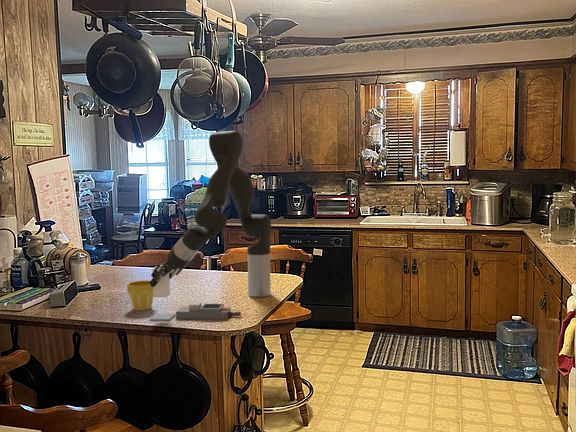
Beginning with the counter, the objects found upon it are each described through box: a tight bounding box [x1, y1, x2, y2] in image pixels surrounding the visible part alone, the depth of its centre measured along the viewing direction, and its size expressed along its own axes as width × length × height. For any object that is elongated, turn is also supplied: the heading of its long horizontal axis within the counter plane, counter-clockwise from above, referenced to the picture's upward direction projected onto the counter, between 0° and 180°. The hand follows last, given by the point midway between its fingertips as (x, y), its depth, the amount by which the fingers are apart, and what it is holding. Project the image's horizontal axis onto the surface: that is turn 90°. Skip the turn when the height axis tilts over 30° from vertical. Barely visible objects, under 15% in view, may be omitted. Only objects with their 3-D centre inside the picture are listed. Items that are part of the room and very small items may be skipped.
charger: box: [152, 264, 171, 298], centre depth 198 cm, size 4×4×11 cm
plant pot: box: [126, 280, 154, 311], centre depth 213 cm, size 10×10×10 cm
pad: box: [149, 313, 176, 322], centre depth 199 cm, size 7×7×1 cm
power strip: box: [175, 301, 242, 320], centre depth 200 cm, size 7×22×4 cm, turn 85°
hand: (157, 283), depth 199 cm, fingers closed on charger, 6 cm apart
